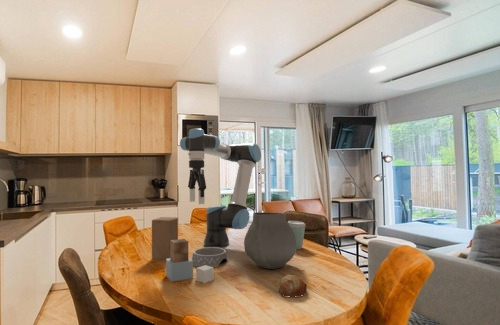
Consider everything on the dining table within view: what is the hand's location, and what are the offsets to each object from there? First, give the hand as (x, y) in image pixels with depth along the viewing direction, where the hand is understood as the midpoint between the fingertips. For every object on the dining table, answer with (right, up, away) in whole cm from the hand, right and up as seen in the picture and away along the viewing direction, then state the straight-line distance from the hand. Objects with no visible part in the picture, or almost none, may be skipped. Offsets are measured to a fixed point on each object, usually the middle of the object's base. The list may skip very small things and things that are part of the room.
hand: (196, 202), depth 154 cm
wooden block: (-17, -29, +7) cm, 35 cm away
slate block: (-3, -28, -23) cm, 37 cm away
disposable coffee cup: (+53, -29, +24) cm, 65 cm away
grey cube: (+8, -28, -27) cm, 40 cm away
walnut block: (-3, -21, -23) cm, 31 cm away
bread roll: (+42, -28, -41) cm, 65 cm away
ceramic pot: (+36, -28, -10) cm, 47 cm away
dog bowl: (+7, -29, -1) cm, 30 cm away
